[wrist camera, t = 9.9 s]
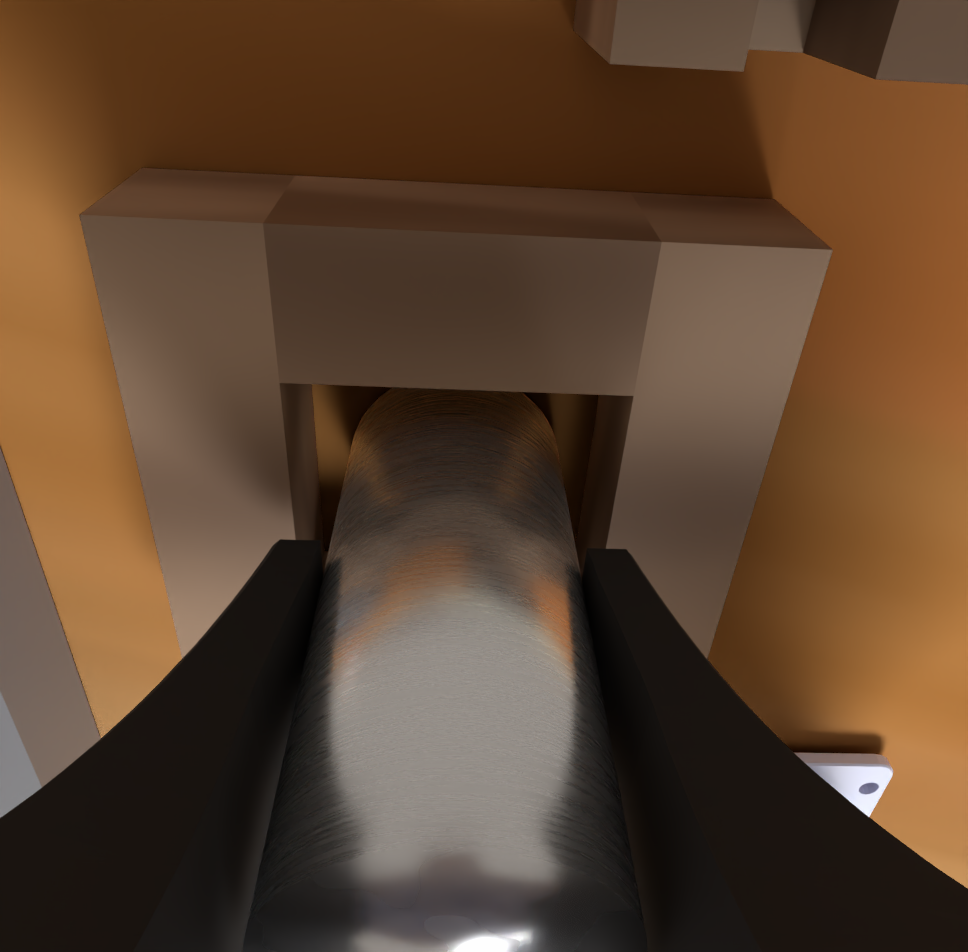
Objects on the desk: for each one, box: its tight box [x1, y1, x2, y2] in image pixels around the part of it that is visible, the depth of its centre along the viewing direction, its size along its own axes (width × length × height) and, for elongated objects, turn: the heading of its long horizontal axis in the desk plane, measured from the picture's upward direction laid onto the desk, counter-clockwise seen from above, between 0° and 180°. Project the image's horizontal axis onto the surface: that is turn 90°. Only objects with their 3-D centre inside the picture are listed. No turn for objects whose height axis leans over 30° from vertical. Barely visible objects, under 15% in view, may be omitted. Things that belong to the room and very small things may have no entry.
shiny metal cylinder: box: [243, 387, 647, 952], centre depth 12 cm, size 4×4×9 cm
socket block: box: [79, 168, 833, 658], centre depth 15 cm, size 10×10×2 cm
